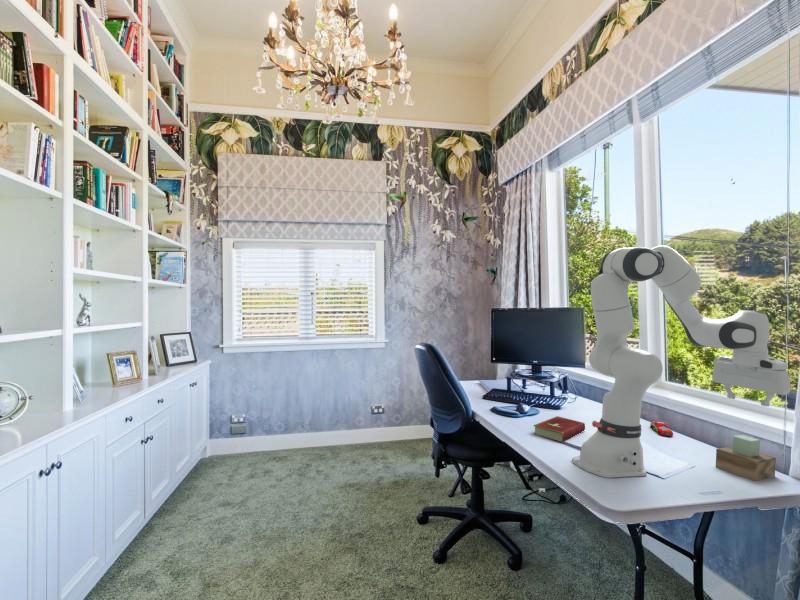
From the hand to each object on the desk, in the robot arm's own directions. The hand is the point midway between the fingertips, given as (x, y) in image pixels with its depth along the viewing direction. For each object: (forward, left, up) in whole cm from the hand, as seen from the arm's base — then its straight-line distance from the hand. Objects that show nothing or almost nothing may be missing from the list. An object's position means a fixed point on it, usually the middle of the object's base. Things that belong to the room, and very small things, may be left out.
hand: (747, 402), depth 132 cm
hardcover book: (-32, +48, -24) cm, 62 cm away
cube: (0, 0, -17) cm, 17 cm away
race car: (+13, +37, -23) cm, 45 cm away
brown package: (0, 0, -23) cm, 23 cm away
